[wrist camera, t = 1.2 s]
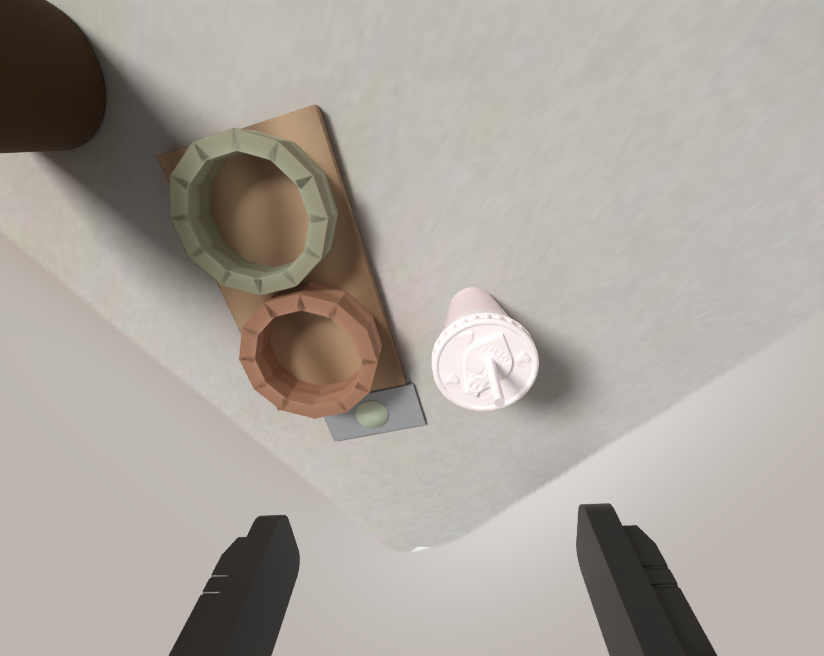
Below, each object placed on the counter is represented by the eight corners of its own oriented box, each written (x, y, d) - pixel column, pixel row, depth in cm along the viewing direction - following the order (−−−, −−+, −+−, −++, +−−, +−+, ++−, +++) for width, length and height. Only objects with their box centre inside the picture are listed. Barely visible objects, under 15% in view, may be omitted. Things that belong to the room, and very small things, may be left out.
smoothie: (526, 288, 32) (586, 381, 19) (491, 354, 35) (523, 476, 22) (451, 258, 31) (461, 335, 19) (421, 328, 34) (411, 438, 21)
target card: (413, 382, 36) (412, 385, 36) (425, 422, 38) (425, 425, 37) (319, 402, 37) (318, 404, 37) (335, 439, 39) (334, 442, 39)
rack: (318, 106, 28) (300, 99, 24) (405, 378, 36) (402, 404, 32) (165, 156, 29) (127, 157, 26) (282, 403, 38) (265, 431, 34)
